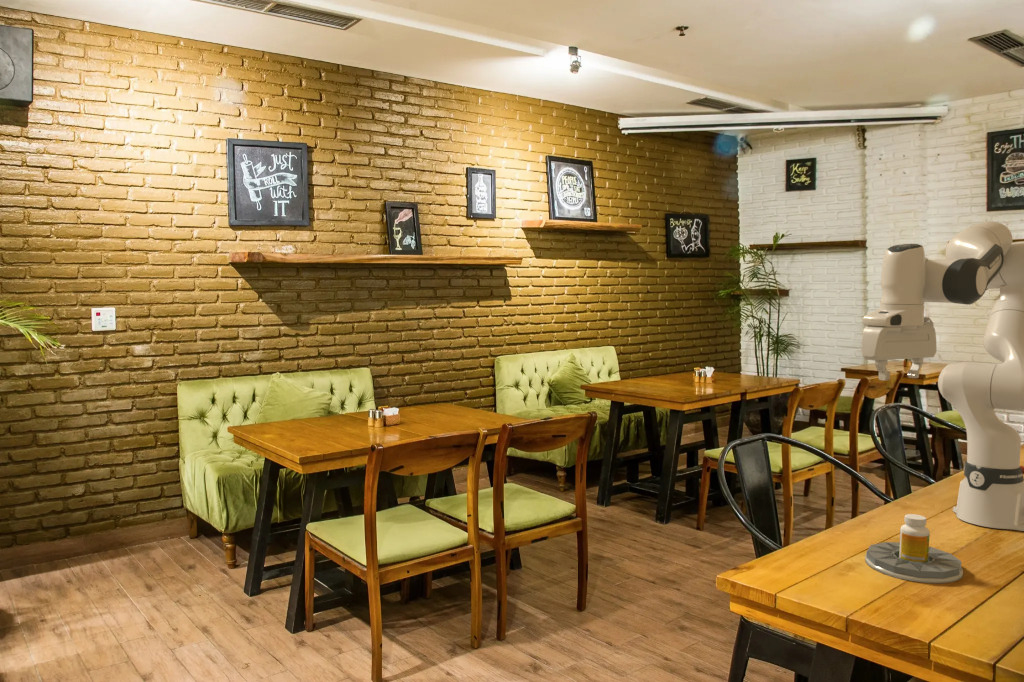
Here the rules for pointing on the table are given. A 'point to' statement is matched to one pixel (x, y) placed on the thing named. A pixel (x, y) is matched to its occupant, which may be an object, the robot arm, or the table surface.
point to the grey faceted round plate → (914, 564)
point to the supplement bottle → (914, 539)
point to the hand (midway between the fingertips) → (898, 379)
